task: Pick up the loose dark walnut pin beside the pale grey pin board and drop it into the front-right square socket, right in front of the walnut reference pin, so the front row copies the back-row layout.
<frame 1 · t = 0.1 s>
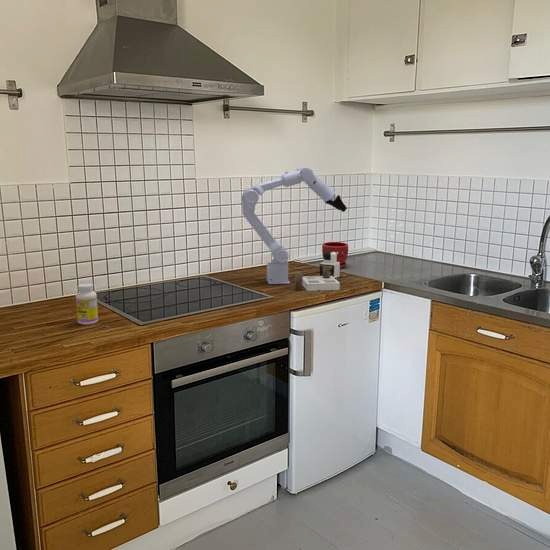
hand: (343, 209, 243), 32 cm above the countertop, tool tilted 50°, fingers open, 7 cm apart
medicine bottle: (329, 278, 257), on the countertop
pin board: (319, 286, 239), on the countertop
walnut pin: (298, 289, 233), on the countertop
plant pot: (334, 267, 281), on the countertop
supplement bottle: (88, 322, 187), on the countertop
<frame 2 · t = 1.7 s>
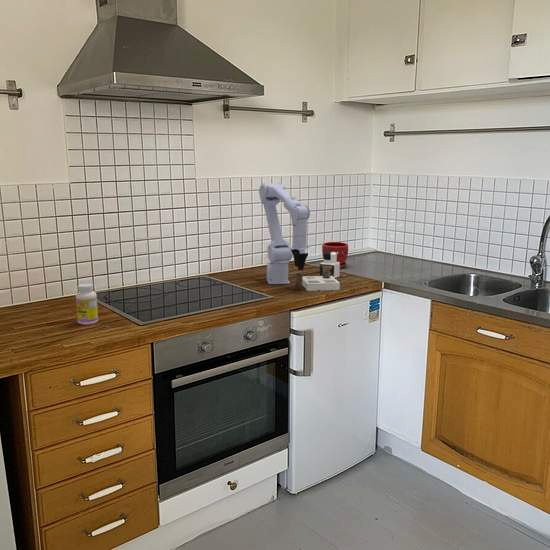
hand: (299, 267, 231), 9 cm above the countertop, tool pointing down, fingers open, 7 cm apart
nothing on the countertop moved.
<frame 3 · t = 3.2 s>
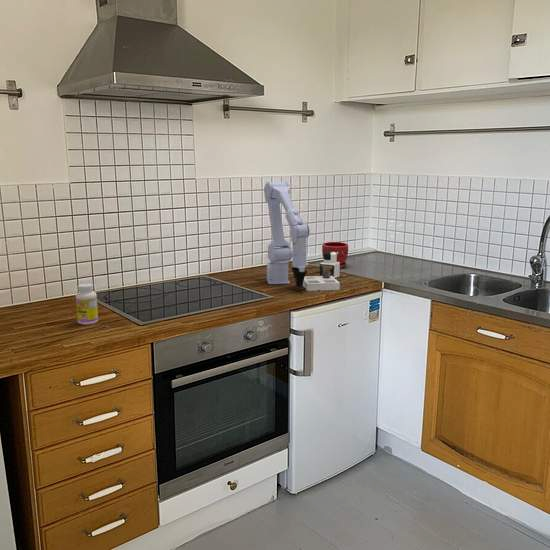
hand: (298, 285, 233), 2 cm above the countertop, tool pointing down, fingers closed on walnut pin, 3 cm apart
walnut pin: (298, 289, 233), on the countertop, touching gripper
everything else where it was.
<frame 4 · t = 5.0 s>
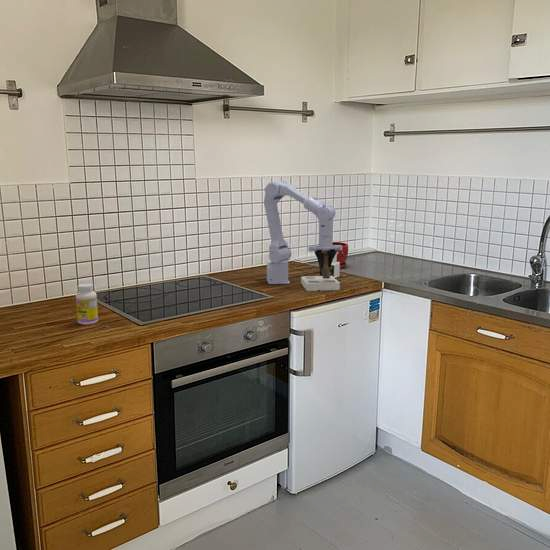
hand: (325, 267, 234), 9 cm above the countertop, tool pointing down, fingers closed on walnut pin, 3 cm apart
walnut pin: (324, 272, 234), point 7 cm above the countertop, touching gripper
everything else where it was.
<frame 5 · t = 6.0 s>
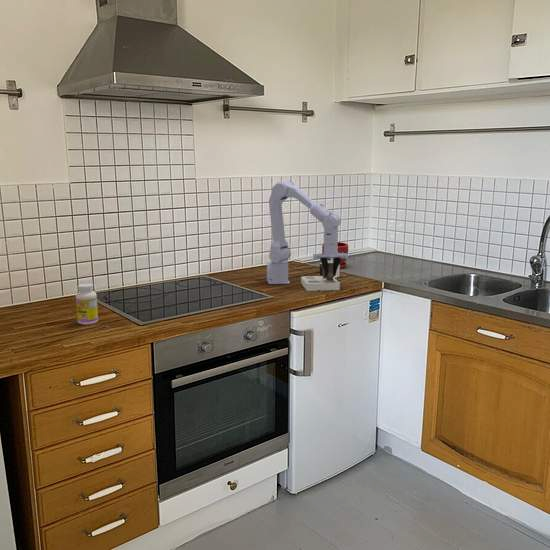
hand: (330, 275, 235), 6 cm above the countertop, tool pointing down, fingers closed on walnut pin, 3 cm apart
walnut pin: (329, 279, 236), point 4 cm above the countertop, touching gripper
everything else where it was.
when the fingers open (4 cm above the countertop, at t = 6.7 s): walnut pin drops 2 cm, resting in pin board.
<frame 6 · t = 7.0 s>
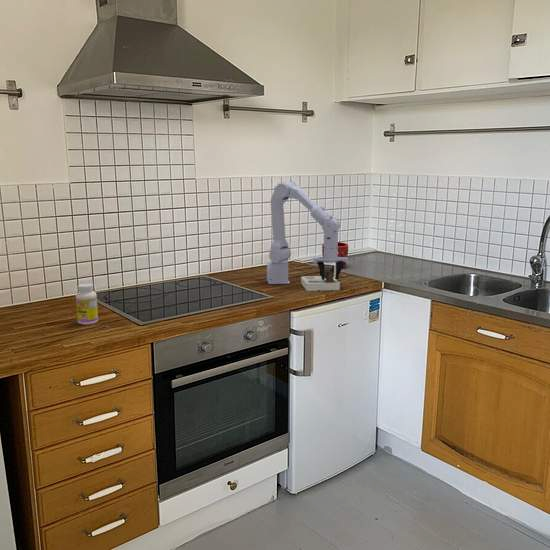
hand: (329, 279, 235), 4 cm above the countertop, tool pointing down, fingers open, 5 cm apart
walnut pin: (329, 288, 236), resting in pin board
everything else where it was.
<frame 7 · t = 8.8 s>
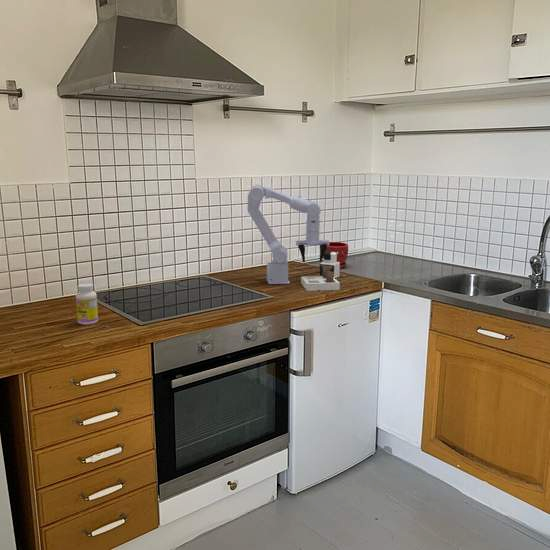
hand: (312, 261, 245), 9 cm above the countertop, tool pointing down, fingers open, 7 cm apart
nothing on the countertop moved.
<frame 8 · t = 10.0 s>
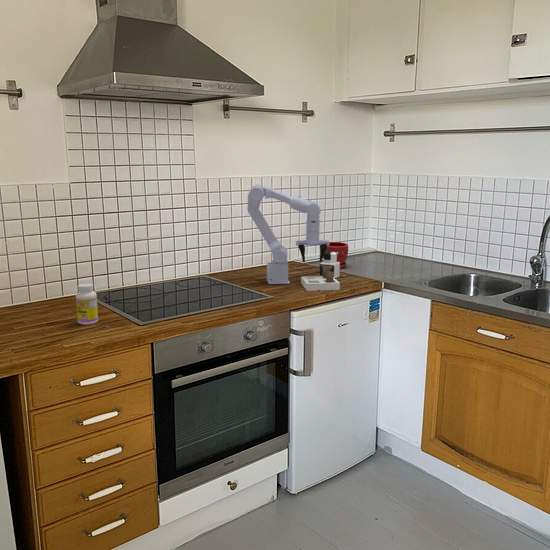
hand: (312, 261, 245), 9 cm above the countertop, tool pointing down, fingers open, 7 cm apart
nothing on the countertop moved.
at the end: walnut pin 0.1 cm from the target spot on the pin board, point 0.0 cm above the pin board's base; walnut pin tilted 0°; the gripper is holding nothing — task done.
